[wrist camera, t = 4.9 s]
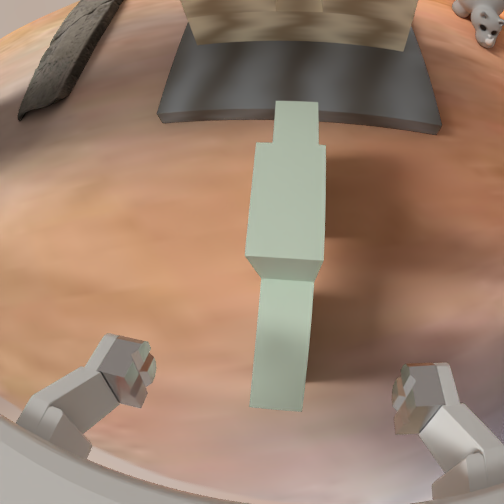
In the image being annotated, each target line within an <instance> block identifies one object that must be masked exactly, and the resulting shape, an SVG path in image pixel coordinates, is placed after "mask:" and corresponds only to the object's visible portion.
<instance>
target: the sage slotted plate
mask: <svg viewBox="0 0 504 504" xmlns="http://www.w3.org/2000/svg"><path fill="white" fill-rule="evenodd" d="M325 204H326V145H319V118H318V102H303V101H276V105H275V118H274V132H273V143H258V142H256V149H255V159H254V169H253V178H252V188H251V198H250V208H249V218H248V228H247V238H246V248H245V257H246V258H247V259H248V261H249V262H250V263H251V265H252V266H253V268H254V269H255V270H256V272H257V273H258V274H259V276H260V277H261V288H260V300H259V311H258V322H257V332H256V343H255V354H254V364H253V374H252V385H251V395H250V405H249V407H254V408H264V409H274V410H285V411H298V412H302V407H303V399H304V390H305V381H306V372H307V362H308V352H309V342H310V330H311V318H312V305H313V291H314V281H315V279H316V277H317V274H318V272H319V270H320V268H321V265H322V263H323V261H324V238H325Z"/></svg>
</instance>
